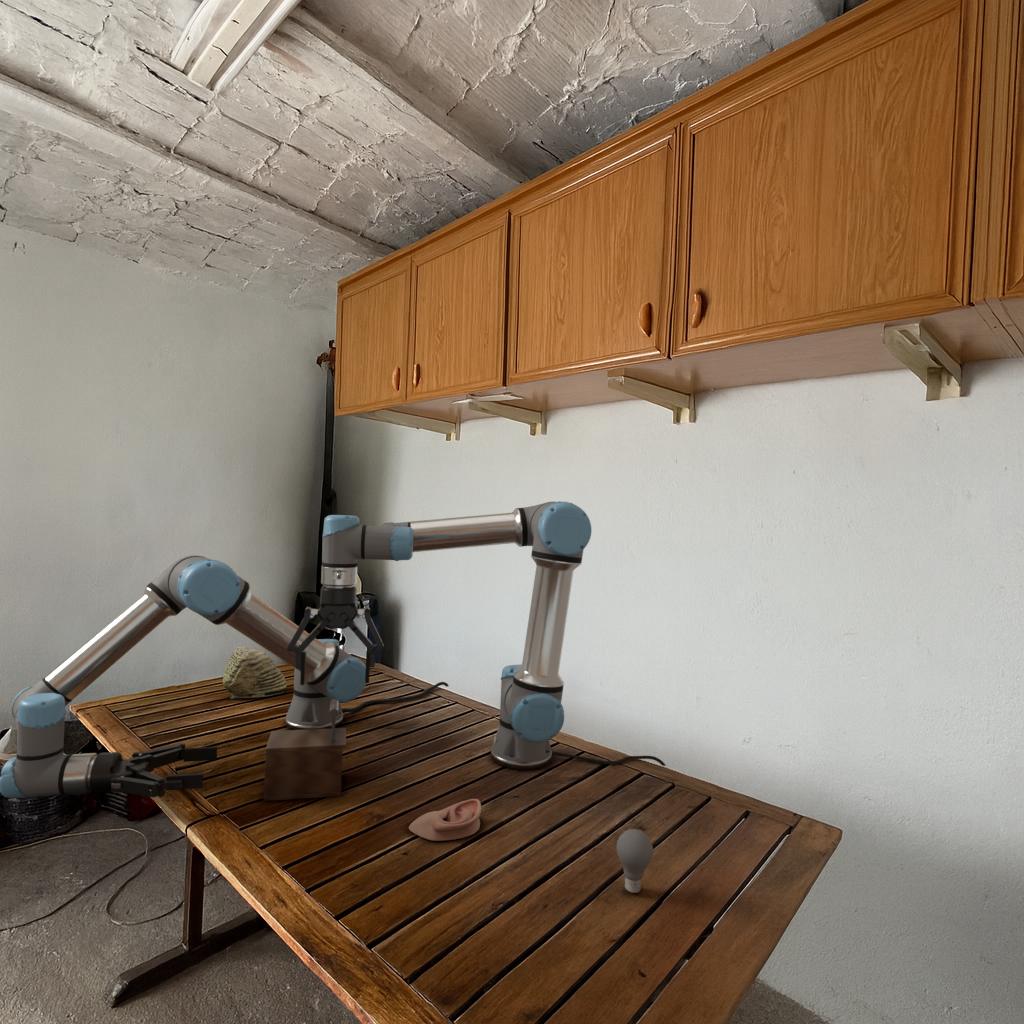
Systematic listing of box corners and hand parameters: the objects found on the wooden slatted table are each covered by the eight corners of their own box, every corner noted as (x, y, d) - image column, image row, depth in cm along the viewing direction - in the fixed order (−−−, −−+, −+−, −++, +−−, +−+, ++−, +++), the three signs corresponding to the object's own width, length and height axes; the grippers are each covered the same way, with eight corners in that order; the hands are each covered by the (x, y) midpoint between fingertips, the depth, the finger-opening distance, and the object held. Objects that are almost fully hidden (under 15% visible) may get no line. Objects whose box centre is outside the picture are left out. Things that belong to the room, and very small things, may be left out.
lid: (345, 731, 144) (347, 696, 144) (345, 748, 135) (347, 710, 134) (271, 734, 140) (272, 698, 140) (265, 752, 131) (266, 713, 130)
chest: (341, 775, 144) (343, 731, 144) (340, 795, 135) (342, 748, 134) (269, 780, 140) (271, 734, 140) (263, 801, 131) (265, 752, 131)
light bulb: (610, 879, 108) (613, 822, 108) (644, 879, 109) (647, 822, 109) (619, 902, 102) (622, 840, 102) (655, 901, 103) (658, 840, 103)
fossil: (218, 695, 195) (220, 647, 195) (278, 685, 208) (279, 640, 207) (228, 703, 189) (230, 653, 188) (289, 692, 201) (290, 645, 201)
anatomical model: (403, 815, 119) (423, 788, 130) (402, 836, 119) (423, 807, 131) (471, 825, 117) (486, 797, 128) (470, 847, 117) (485, 817, 128)
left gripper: (117, 765, 140) (221, 759, 145) (68, 822, 115) (195, 813, 121) (118, 731, 139) (222, 727, 145) (69, 781, 115) (196, 774, 120)
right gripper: (276, 587, 131) (272, 689, 132) (398, 588, 138) (394, 685, 138) (280, 582, 139) (276, 679, 139) (395, 583, 145) (391, 676, 145)
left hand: (210, 766), depth 133 cm, fingers open, 13 cm apart
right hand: (335, 682), depth 139 cm, fingers open, 13 cm apart
